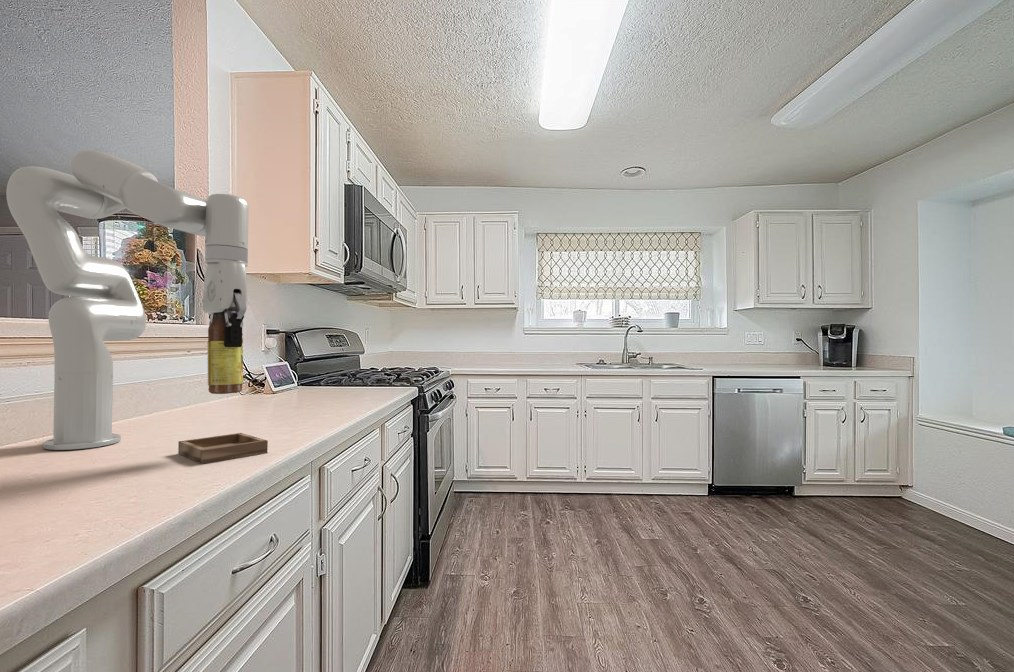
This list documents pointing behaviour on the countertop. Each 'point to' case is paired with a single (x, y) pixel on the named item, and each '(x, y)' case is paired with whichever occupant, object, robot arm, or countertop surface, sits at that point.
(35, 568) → the countertop surface
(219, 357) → the sauce bottle
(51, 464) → the countertop surface
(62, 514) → the countertop surface
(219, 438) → the tray
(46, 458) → the countertop surface
